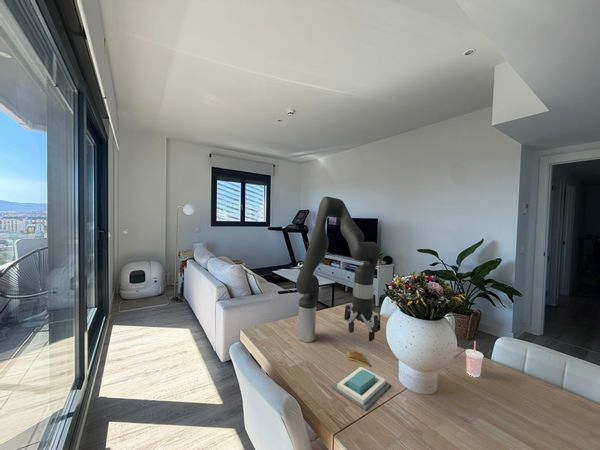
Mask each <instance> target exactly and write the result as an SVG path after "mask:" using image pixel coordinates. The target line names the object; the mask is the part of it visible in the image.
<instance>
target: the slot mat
mask: <svg viewBox="0 0 600 450" xmlns="http://www.w3.org/2000/svg"><path fill="white" fill-rule="evenodd" d="M363 370H366V371H368V372H369V373H371V374H373V375H375V384H374V385H373V386H371V387H370V388H369V389H367V390H366V391H365V392H363V393H362V394H361V395H360V394H358V393H356V392H355V391H353V390H351V389H350V388H348V380H349V379H351V378H352V377H354V376H355V375H357V374H358V373H360V372H361V371H363ZM391 386H392V385H391V384H390V383H389V382H388V381H387V379H386V378H383V377H382V376H380V375H378V374H376V373H374V372H373V371H370V370H369V369H366V368H364V367H363V366H360V367H357V368H356V369H354V370H353V371H352V372H350V374H348V375H346V376H345V377H344V378H342V379H341V380H339V381H338V382H337V383H336V384H335V385H332V387H331V389H332V390H333V391H335V392H336V393H338V394H339V395H341V396H342V397H344V398H346V399H347V400H349V401H350V402H351V403H353V404H354V405H355V406H358V407H359V408H361V409H363V411H367V409H369V408H370V407H371V406H372V405H373V403H374V402H376V401H377V400H378V399H379V398H380V397H381V396H382V395H383V394H384V393H385V392H386V391H387V390H388V389H389V388H391Z"/></svg>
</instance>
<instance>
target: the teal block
mask: <svg viewBox="0 0 600 450" xmlns="http://www.w3.org/2000/svg"><path fill="white" fill-rule="evenodd" d="M368 371H369V370H368ZM368 371H366V370H363V371H361V372H360V373H358V374H357V375H355V376H354V377H352V378H351V379H349V380H348V388H350V389H351V390H353V391H355V392H356V393H358V394H360V395H361V394H362V393H363V392H365V391H366V390H367V389H369V388H370V387H371V386H373V385H374V384H375V375H373V374H371V373H369V372H368Z"/></svg>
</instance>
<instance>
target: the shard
mask: <svg viewBox="0 0 600 450" xmlns="http://www.w3.org/2000/svg"><path fill="white" fill-rule="evenodd" d="M347 355H348V357H347V358H348V359H347V360H349V361H354V362H356V363H357V364H360V365H363V366H366V367H370V366H371V363H370V362H369V361H368V360H367V358H366V357H365V354H363V353H362V352H361V351H359V350H353V351H351V350H350V351H349V350H348V351H347Z"/></svg>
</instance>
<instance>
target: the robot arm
mask: <svg viewBox="0 0 600 450" xmlns="http://www.w3.org/2000/svg"><path fill="white" fill-rule="evenodd" d="M318 206H319V207H318V208H317V209H318V210H317V215H316V220H315V225H314V227H313V232H312V235H311V237H310V240H309V244H308V247H307V252H306V255H305V258H304V261H303V264H302V266H301V269H300V271H299V273H298V276H297V278H296V282H295V289H296V290H297V293H299V294H301V295H302V296H301V297H300V298H299V299H298V315H297V316H298V317H297V318H296V335H295V336H296V337H297V339H298V340H299V341H300V342H303V343H311V342H314V341H315V340H316V329H317V327H316V326H317V325H316V324H317V303H318V301H319V295H320V294H319V292H320V282H319V279H318V277H317V276H316V275H315V274H314V272H315V271H316V269H317V268H318V267H319V266H320V264H321V263H322V262H323V260H324V258H325V257H326V255H327V252H328V248H329V245H330V242H329V238H328V234H327V229H326V224H327V220H328V218H333V219H338V221H339V222H340V232H341V235H342V236H343V238H344V239H345V241H346V243H347V244H348V247H349V251H350V255H351V257H352V258H353V259H354V260H355V261H358V262H363V263H362V264H361V265H359V266H356V267H355V269H354V278H353V279H354V280H353V286H352V287H353V288H352V300H351V301H352V303H349V304H346V305H345V308H344V318H343V319H344V320H345V321H347V323H348V332H349V333H350V334H352V333H354V332H355V322H354V321H356V320H357V321H358V322H359V321H360V322H361V323H363V324H364V325H365V327H367V329H368V342H370V343H371V342H373V341H374V340H375V339H376V338H375V336H376V333H378V332H380V331H381V314H379V313H378V314H376V313H373V308H374V290H375V289H374V279H375V271H376V268H377V265H378V263H379V259H380V256H381V255H380V254H381V252H380V251H381V250H380V247H379V245H378V244H377V243H376V242H374V241H365V235H364V233H363V231H362V230H361V229H360V227H358V225H357V224H356V223H355V221H354V220H353V218H352V215H351V214H350V212H349V210H348V207H347V206H346V204H345V203H344V201H343V200H342V199H341V198H340V199H339V198H337V197H331V196H324V197H322V198H321V201H320V202H319V205H318ZM352 313H353V314H352Z"/></svg>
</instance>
